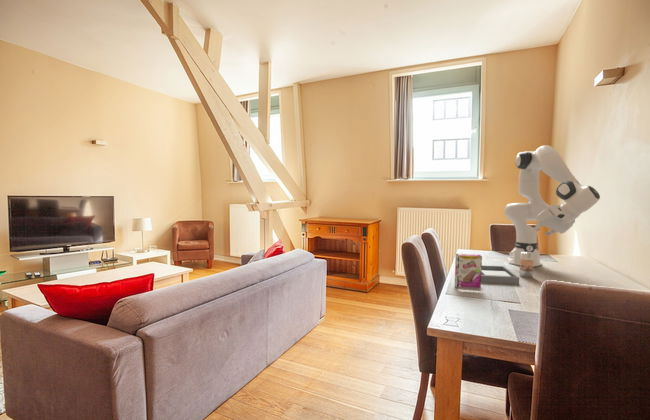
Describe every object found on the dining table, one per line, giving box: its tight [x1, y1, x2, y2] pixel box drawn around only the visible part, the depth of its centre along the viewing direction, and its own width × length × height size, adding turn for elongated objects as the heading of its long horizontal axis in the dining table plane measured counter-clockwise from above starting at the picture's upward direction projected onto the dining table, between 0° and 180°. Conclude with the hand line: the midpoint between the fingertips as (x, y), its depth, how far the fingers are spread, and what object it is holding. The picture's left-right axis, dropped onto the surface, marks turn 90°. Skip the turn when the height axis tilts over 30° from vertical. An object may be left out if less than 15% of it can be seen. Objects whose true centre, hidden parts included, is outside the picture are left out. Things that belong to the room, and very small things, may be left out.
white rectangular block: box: [481, 270, 511, 277], centre depth 172 cm, size 10×12×4 cm
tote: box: [481, 265, 520, 286], centre depth 177 cm, size 24×18×4 cm
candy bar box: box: [454, 253, 483, 289], centre depth 161 cm, size 11×5×16 cm, turn 84°
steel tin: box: [519, 252, 534, 279], centre depth 177 cm, size 6×6×14 cm
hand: (540, 232), depth 169 cm, fingers open, 8 cm apart
